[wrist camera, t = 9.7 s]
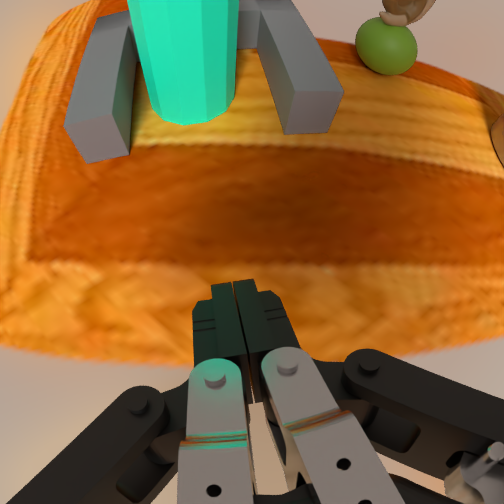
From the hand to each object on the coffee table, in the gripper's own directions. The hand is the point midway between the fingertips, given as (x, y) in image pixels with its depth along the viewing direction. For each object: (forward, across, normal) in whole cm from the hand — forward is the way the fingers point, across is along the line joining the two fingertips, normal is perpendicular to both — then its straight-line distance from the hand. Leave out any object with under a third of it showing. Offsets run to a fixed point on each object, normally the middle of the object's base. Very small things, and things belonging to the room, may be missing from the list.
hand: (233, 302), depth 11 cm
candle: (+14, +1, -7) cm, 16 cm away
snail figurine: (+17, -16, -10) cm, 25 cm away
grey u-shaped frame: (+16, 0, -9) cm, 18 cm away
